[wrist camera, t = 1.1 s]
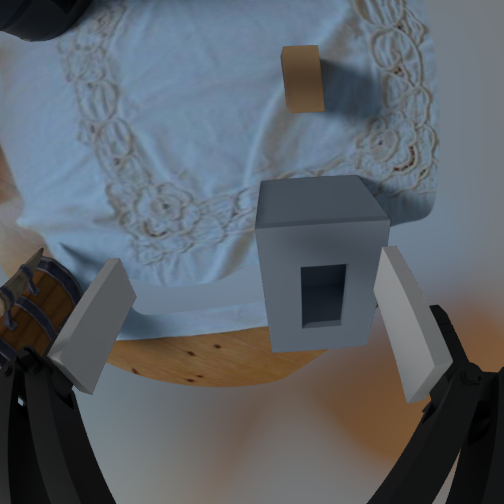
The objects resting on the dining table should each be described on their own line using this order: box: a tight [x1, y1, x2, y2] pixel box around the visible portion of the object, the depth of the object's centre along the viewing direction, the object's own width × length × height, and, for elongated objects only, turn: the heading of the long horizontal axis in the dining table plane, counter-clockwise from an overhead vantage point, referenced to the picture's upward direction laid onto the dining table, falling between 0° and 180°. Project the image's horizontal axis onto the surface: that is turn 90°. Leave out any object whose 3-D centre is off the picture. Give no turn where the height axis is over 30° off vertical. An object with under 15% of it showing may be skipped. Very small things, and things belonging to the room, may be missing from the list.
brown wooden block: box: [280, 45, 325, 113], centre depth 21 cm, size 6×3×8 cm, turn 7°
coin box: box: [255, 175, 391, 352], centre depth 30 cm, size 16×11×11 cm
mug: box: [0, 248, 83, 367], centre depth 35 cm, size 19×14×20 cm
